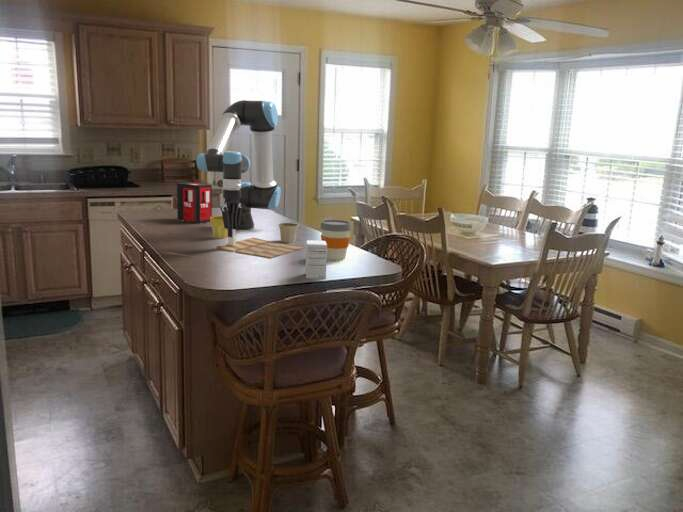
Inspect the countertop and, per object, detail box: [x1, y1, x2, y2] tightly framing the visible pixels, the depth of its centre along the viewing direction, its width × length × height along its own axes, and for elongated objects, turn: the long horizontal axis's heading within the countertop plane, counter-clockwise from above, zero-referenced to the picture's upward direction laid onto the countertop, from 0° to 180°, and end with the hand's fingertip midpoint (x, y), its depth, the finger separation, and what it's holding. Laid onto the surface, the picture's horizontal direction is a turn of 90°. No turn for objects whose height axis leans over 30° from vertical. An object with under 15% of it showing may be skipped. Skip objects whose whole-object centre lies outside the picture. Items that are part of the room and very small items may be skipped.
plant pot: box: [209, 215, 228, 240], centre depth 275 cm, size 10×10×10 cm
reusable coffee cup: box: [320, 219, 352, 261], centre depth 244 cm, size 13×13×15 cm
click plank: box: [215, 237, 271, 253], centre depth 258 cm, size 26×9×1 cm, turn 152°
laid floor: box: [234, 241, 306, 259], centre depth 252 cm, size 26×18×1 cm
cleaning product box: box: [176, 181, 213, 225], centre depth 317 cm, size 16×9×20 cm, turn 58°
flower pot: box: [277, 222, 300, 244], centre depth 272 cm, size 9×9×9 cm
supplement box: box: [305, 239, 328, 280], centre depth 214 cm, size 7×7×13 cm
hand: (231, 244), depth 252 cm, fingers closed
